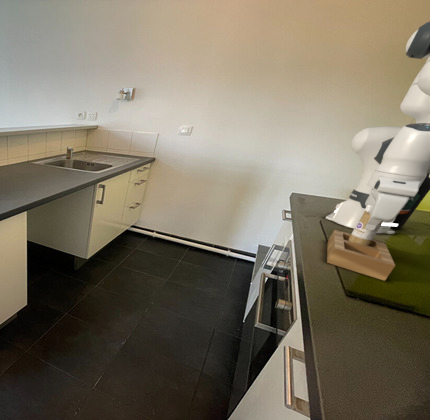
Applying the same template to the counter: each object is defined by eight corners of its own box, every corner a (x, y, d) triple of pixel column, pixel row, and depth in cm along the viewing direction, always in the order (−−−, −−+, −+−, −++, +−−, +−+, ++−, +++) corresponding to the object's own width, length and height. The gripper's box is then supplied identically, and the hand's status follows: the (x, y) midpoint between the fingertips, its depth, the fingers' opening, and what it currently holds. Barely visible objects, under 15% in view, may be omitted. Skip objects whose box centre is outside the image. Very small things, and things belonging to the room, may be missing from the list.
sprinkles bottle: (341, 242, 80) (362, 203, 75) (355, 242, 80) (378, 204, 75) (357, 249, 75) (380, 209, 70) (372, 250, 75) (397, 210, 70)
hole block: (327, 242, 86) (334, 229, 84) (376, 255, 79) (384, 242, 77) (326, 262, 73) (334, 248, 71) (384, 280, 66) (395, 265, 64)
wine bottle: (406, 230, 99) (462, 157, 88) (385, 227, 100) (437, 154, 89) (387, 223, 106) (436, 154, 95) (367, 220, 107) (413, 151, 96)
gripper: (372, 176, 79) (350, 215, 84) (380, 186, 65) (354, 232, 71) (404, 180, 74) (379, 221, 80) (420, 192, 61) (389, 240, 66)
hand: (367, 226), depth 75 cm, fingers closed on sprinkles bottle, 4 cm apart
